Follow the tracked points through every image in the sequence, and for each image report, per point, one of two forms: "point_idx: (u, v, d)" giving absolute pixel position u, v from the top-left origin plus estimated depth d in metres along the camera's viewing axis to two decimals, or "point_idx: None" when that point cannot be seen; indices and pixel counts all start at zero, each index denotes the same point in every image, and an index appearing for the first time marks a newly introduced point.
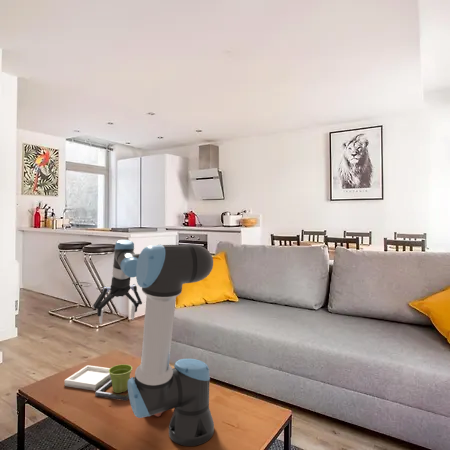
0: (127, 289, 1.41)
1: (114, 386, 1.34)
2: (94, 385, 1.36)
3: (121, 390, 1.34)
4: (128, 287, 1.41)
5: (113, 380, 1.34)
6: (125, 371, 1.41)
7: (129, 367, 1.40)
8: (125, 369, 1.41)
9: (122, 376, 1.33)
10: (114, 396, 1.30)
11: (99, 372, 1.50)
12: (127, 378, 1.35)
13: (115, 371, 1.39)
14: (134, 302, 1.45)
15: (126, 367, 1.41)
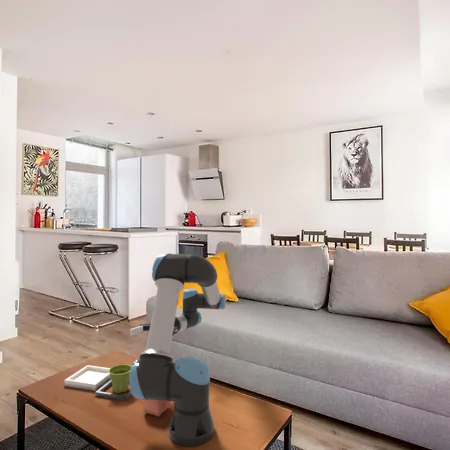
0: None
1: (114, 386, 1.34)
2: (94, 385, 1.36)
3: (121, 390, 1.34)
4: None
5: (113, 380, 1.34)
6: (125, 371, 1.41)
7: (129, 367, 1.40)
8: (125, 369, 1.41)
9: (122, 376, 1.33)
10: (114, 396, 1.30)
11: (99, 372, 1.50)
12: (127, 378, 1.35)
13: (115, 371, 1.39)
14: None
15: (126, 367, 1.41)
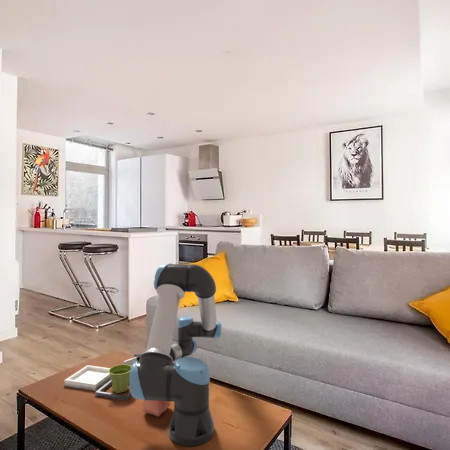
0: None
1: (114, 386, 1.34)
2: (94, 385, 1.36)
3: (121, 390, 1.34)
4: None
5: (113, 380, 1.34)
6: (125, 371, 1.41)
7: (129, 367, 1.40)
8: (125, 369, 1.41)
9: (122, 376, 1.33)
10: (114, 396, 1.30)
11: (99, 372, 1.50)
12: (127, 378, 1.35)
13: (115, 371, 1.39)
14: None
15: (126, 367, 1.41)
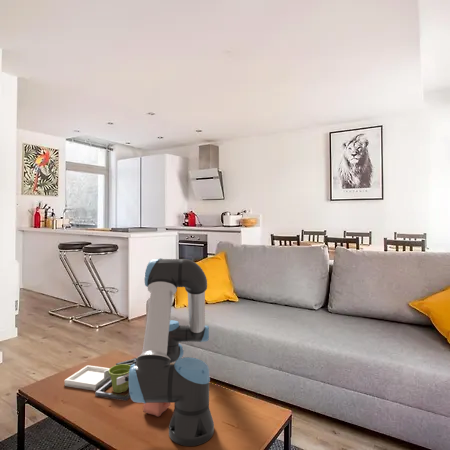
0: None
1: (114, 386, 1.34)
2: (94, 385, 1.36)
3: (121, 390, 1.34)
4: None
5: (113, 380, 1.34)
6: (125, 371, 1.41)
7: (129, 367, 1.40)
8: (125, 369, 1.41)
9: None
10: (114, 396, 1.30)
11: (99, 372, 1.50)
12: None
13: (115, 371, 1.39)
14: None
15: (126, 367, 1.41)
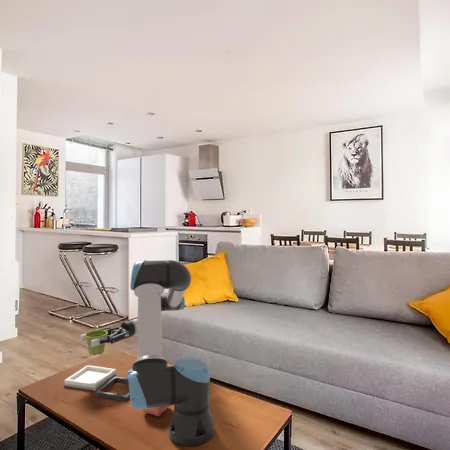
0: (123, 330, 1.52)
1: (90, 349, 1.42)
2: (94, 385, 1.36)
3: (96, 352, 1.42)
4: (125, 330, 1.52)
5: (89, 343, 1.42)
6: (101, 336, 1.49)
7: (105, 332, 1.48)
8: (101, 334, 1.49)
9: None
10: (114, 396, 1.30)
11: (99, 372, 1.50)
12: None
13: (92, 336, 1.47)
14: (110, 335, 1.45)
15: (102, 332, 1.49)
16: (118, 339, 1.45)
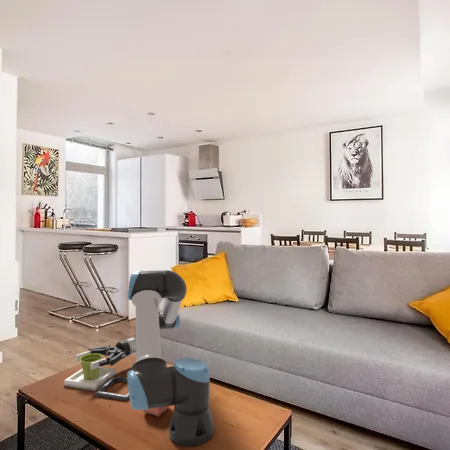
0: (118, 350, 1.52)
1: (85, 373, 1.43)
2: (94, 385, 1.36)
3: (91, 377, 1.43)
4: (120, 350, 1.53)
5: (84, 368, 1.42)
6: (96, 360, 1.49)
7: (100, 356, 1.49)
8: (96, 358, 1.49)
9: None
10: (114, 396, 1.30)
11: (99, 372, 1.50)
12: None
13: (86, 359, 1.48)
14: (109, 357, 1.45)
15: (97, 356, 1.50)
16: (117, 360, 1.45)
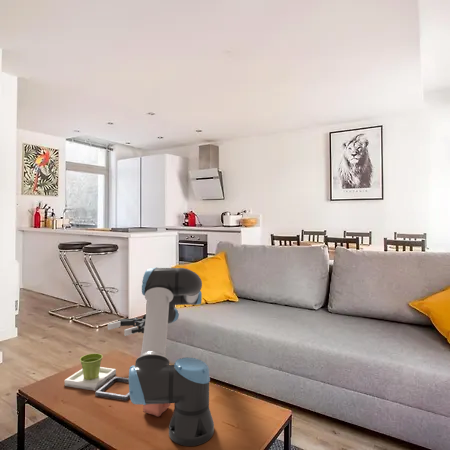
0: None
1: (85, 373, 1.43)
2: (94, 385, 1.36)
3: (91, 377, 1.43)
4: None
5: (84, 368, 1.42)
6: (96, 360, 1.49)
7: (100, 356, 1.49)
8: (96, 358, 1.49)
9: (92, 364, 1.42)
10: (114, 396, 1.30)
11: (99, 372, 1.50)
12: (97, 366, 1.44)
13: (86, 359, 1.48)
14: None
15: (97, 356, 1.50)
16: None
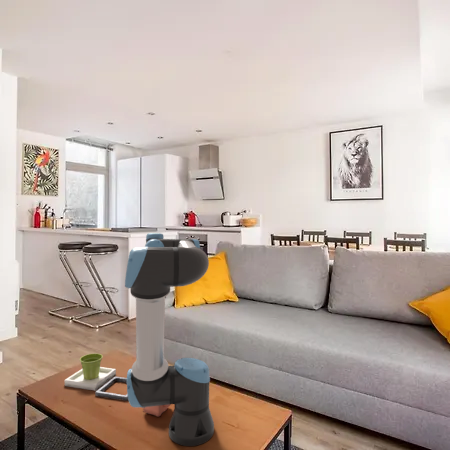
0: None
1: (85, 373, 1.43)
2: (94, 385, 1.36)
3: (91, 377, 1.43)
4: None
5: (84, 368, 1.42)
6: (96, 360, 1.49)
7: (100, 356, 1.49)
8: (96, 358, 1.49)
9: (92, 364, 1.42)
10: (114, 396, 1.30)
11: (99, 372, 1.50)
12: (97, 366, 1.44)
13: (87, 359, 1.48)
14: None
15: (97, 356, 1.50)
16: None
